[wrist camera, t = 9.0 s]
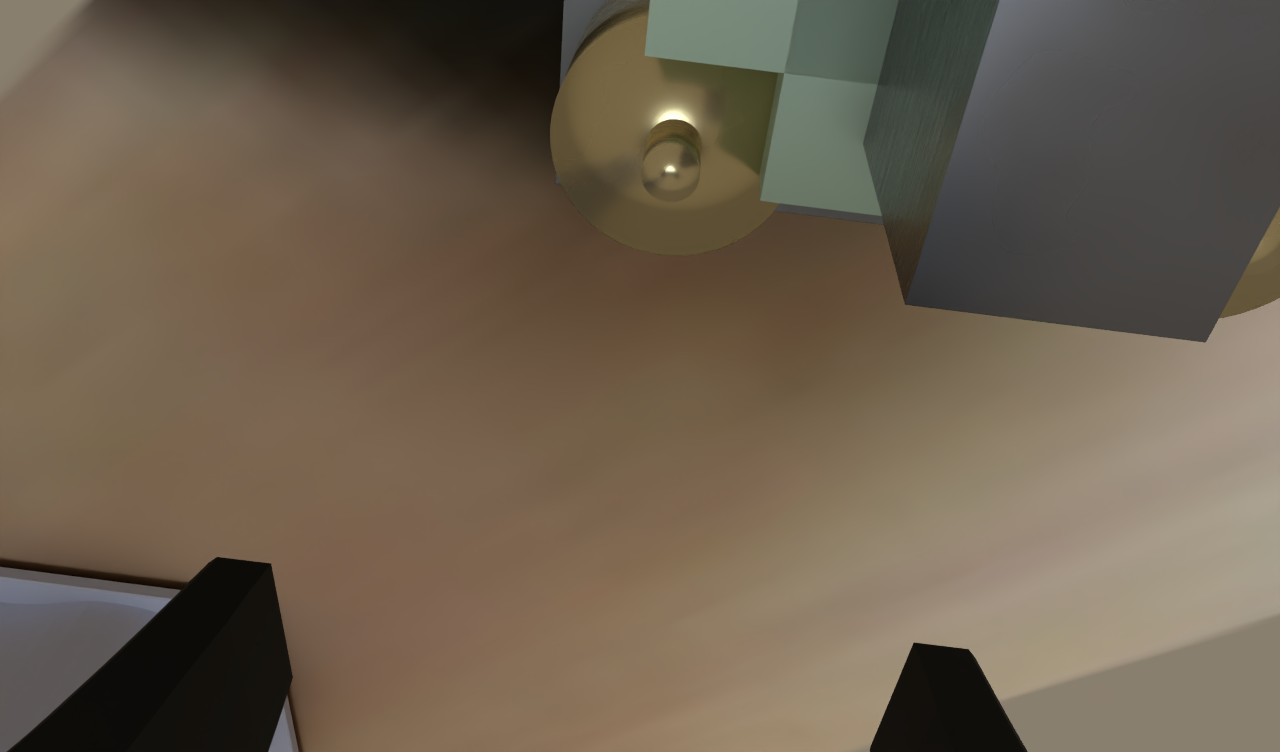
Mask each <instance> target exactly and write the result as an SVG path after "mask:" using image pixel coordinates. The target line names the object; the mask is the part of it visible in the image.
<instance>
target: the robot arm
mask: <svg viewBox="0 0 1280 752" xmlns="http://www.w3.org/2000/svg"><path fill="white" fill-rule="evenodd" d="M292 678H293V676H292V671H291V666H290V660H289V655H288V650H287V645H286V640H285V634H284V629H283V624H282V619H281V613H280V608H279V603H278V598H277V592H276V587H275V582H274V577H273V572H272V566H271V564H269V563H261V562H253V561H245V560H237V559H229V558H220V557H217V558H215V559H214V560H212V561H211V562H209V563H208V564H207V565H206V566H205V567H204V568H203V569H202V570H201V571H200V572H199V573H198V574H197V575H196V576H195V577H194V578H193V579H192V580H191V581H190V582H189V583H188V584H187V585H186V586H185V587H184V588H183V589H182V590H177V589H170V588H162V587H154V586H146V585H139V584H131V583H123V582H115V581H107V580H100V579H92V578H84V577H76V576H69V575H61V574H53V573H45V572H37V571H30V570H22V569H14V568H6V567H0V752H299V750H298V745H297V740H296V736H295V731H294V726H293V721H292V716H291V711H290V706H289V701H288V696H287V694H288V691H289V687H290V684H291V681H292ZM870 752H1027V750H1026V748H1025V746H1024V745H1023V743H1022V741H1021V740H1020V738H1019V736H1018V734H1017V733H1016V731H1015V729H1014V727H1013V725H1012V724H1011V722H1010V720H1009V718H1008V717H1007V715H1006V713H1005V711H1004V709H1003V708H1002V706H1001V704H1000V702H999V700H998V699H997V697H996V695H995V693H994V691H993V690H992V688H991V686H990V684H989V682H988V680H987V679H986V677H985V675H984V673H983V671H982V669H981V668H980V666H979V664H978V662H977V660H976V658H975V657H974V656H973V654H972V653H971V652H970V651H969V649H962V648H953V647H945V646H937V645H929V644H921V643H913V646H912V648H911V651H910V653H909V655H908V658H907V660H906V663H905V665H904V668H903V670H902V672H901V675H900V677H899V680H898V682H897V684H896V687H895V689H894V692H893V694H892V696H891V699H890V701H889V704H888V706H887V709H886V711H885V713H884V716H883V718H882V721H881V723H880V725H879V728H878V730H877V733H876V735H875V737H874V740H873V742H872V745H871V747H870Z"/></svg>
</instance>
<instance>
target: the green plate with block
mask: <svg viewBox="0 0 1280 752" xmlns="http://www.w3.org/2000/svg"><path fill="white" fill-rule="evenodd" d="M645 56H649V57H657V58H665V59H673V60H681V61H689V62H697V63H705V64H713V65H721V66H729V67H738V68H746V69H754V70H762V71H770V72H778V77H777V82H776V88H775V93H774V98H773V104H772V109H771V115H770V120H769V125H768V131H767V136H766V141H765V147H764V152H763V158H762V163H761V168H760V174H759V187H760V201H766V202H774V203H782V204H790V205H798V206H806V207H814V208H822V209H830V210H838V211H846V212H854V213H862V214H870V215H878V216H882V219H883V222H884V226H885V230H886V234H887V238H888V241H889V245H890V249H891V253H892V257H893V260H894V264H895V268H896V272H897V276H898V280H899V283H900V287H901V291H902V295H903V299H904V302H905V305H913V306H921V307H929V308H937V309H945V310H953V311H961V312H969V313H977V314H984V315H992V316H1000V317H1008V318H1016V319H1024V320H1032V321H1040V322H1048V323H1056V324H1064V325H1072V326H1080V327H1088V328H1096V329H1104V330H1111V331H1119V332H1127V333H1135V334H1143V335H1151V336H1159V337H1167V338H1175V339H1183V340H1191V341H1199V342H1206V341H1207V339H1208V337H1209V335H1210V333H1211V332H1212V330H1213V328H1214V326H1215V324H1216V323H1217V321H1218V319H1219V317H1220V315H1221V313H1222V312H1223V310H1224V308H1225V306H1226V304H1227V302H1228V301H1229V299H1230V297H1231V295H1232V293H1233V291H1234V290H1235V288H1236V286H1237V284H1238V282H1239V281H1240V279H1241V277H1242V275H1243V273H1244V271H1245V270H1246V268H1247V266H1248V264H1249V262H1250V260H1251V259H1252V257H1253V255H1254V253H1255V251H1256V250H1257V248H1258V246H1259V244H1260V242H1261V240H1262V239H1263V237H1264V235H1265V233H1266V231H1267V229H1268V228H1269V226H1270V224H1271V222H1272V220H1273V218H1274V217H1275V215H1276V213H1277V211H1278V209H1279V208H1280V0H650V6H649V16H648V26H647V36H646V46H645Z"/></svg>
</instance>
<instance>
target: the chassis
mask: <svg viewBox="0 0 1280 752" xmlns="http://www.w3.org/2000/svg"><path fill="white" fill-rule="evenodd" d="M649 6H650V0H564V12H563V32H562V53H561V74H560V90H559V92H558V95H557V97H556V100H555V104H554V108H553V112H552V117H551V125H550V147H551V153H552V159H553V163H554V166H555V170H556V177H555V184H561V185H562V187H563V189H564V191H565V193H566V194H567V196H568V197H569V199H570V201H571V202H572V204H573V205H574V206H575V207H576V209H577V210H578V211H579V212H580V213H581V215H582V216H583V217H585V218H586V219H587V220H588V221H589V222H590V223H591V224H592V225H593V226H594V227H596V228H597V229H598V230H600V231H601V232H602V233H604V234H605V235H607V236H609V237H610V238H612V239H614V240H615V241H617V242H619V243H622V244H624V245H626V246H629V247H631V248H634V249H637V250H640V251H644V252H648V253H653V254H659V255H671V256H682V255H694V254H700V253H706V252H710V251H713V250H717V249H720V248H722V247H725V246H727V245H730V244H732V243H734V242H736V241H738V240H740V239H741V238H743V237H745V236H747V235H748V234H749V233H751V232H752V231H753V230H755V229H756V228H757V227H759V226H760V225H761V224H762V223H763V222H764V221H765V220H766V219H767V218H768V217H769V216H770V215H771V214H772V213H773V212H774V211H778V212H786V213H794V214H802V215H810V216H818V217H826V218H834V219H842V220H850V221H858V222H866V223H874V224H881V225H884V222H883V219H882V216H878V215H870V214H862V213H854V212H846V211H838V210H830V209H822V208H814V207H806V206H798V205H790V204H782V203H774V202H766V201H760V187H759V174H760V168H761V163H762V158H763V152H764V147H765V141H766V136H767V131H768V125H769V120H770V115H771V109H772V104H773V98H774V93H775V88H776V82H777V77H778V72H770V71H762V70H754V69H746V68H738V67H729V66H721V65H713V64H705V63H697V62H689V61H681V60H673V59H665V58H657V57H649V56H645V46H646V36H647V26H648V16H649ZM1278 298H1280V208H1279V209H1278V211H1277V213H1276V215H1275V217H1274V218H1273V220H1272V222H1271V224H1270V226H1269V228H1268V229H1267V231H1266V233H1265V235H1264V237H1263V239H1262V240H1261V242H1260V244H1259V246H1258V248H1257V250H1256V251H1255V253H1254V255H1253V257H1252V259H1251V260H1250V262H1249V264H1248V266H1247V268H1246V270H1245V271H1244V273H1243V275H1242V277H1241V279H1240V281H1239V282H1238V284H1237V286H1236V288H1235V290H1234V291H1233V293H1232V295H1231V297H1230V299H1229V301H1228V302H1227V304H1226V306H1225V308H1224V310H1223V312H1222V313H1221V315H1220V317H1219V318H1224V317H1228V316H1232V315H1237V314H1241V313H1244V312H1247V311H1250V310H1253V309H1256V308H1258V307H1261V306H1263V305H1265V304H1268V303H1270V302H1272V301H1274V300H1276V299H1278Z"/></svg>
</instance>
